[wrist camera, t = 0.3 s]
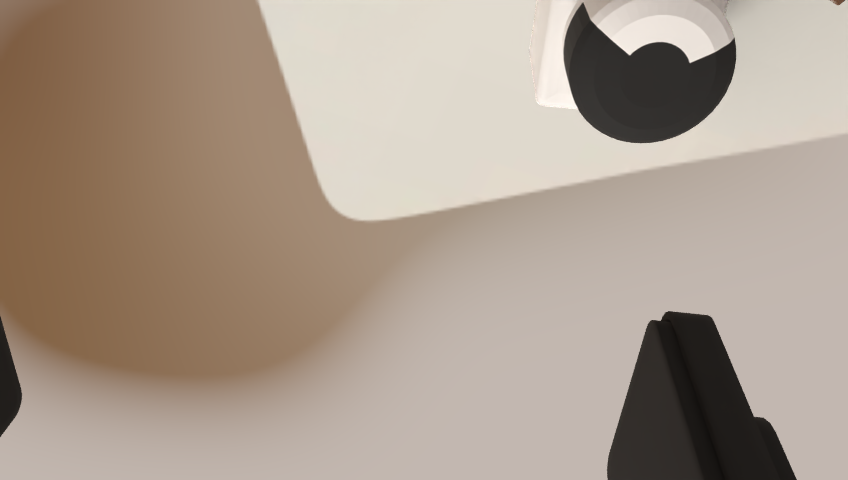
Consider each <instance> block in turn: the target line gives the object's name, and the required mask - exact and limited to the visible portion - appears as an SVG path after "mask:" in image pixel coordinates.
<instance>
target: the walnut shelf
mask: <svg viewBox="0 0 848 480" xmlns="http://www.w3.org/2000/svg"><path fill="white" fill-rule="evenodd" d="M830 1H832V2H833V3H835V4H836V5H840V4H841V3H842V2H844V1H845V0H830Z"/></svg>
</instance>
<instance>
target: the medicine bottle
mask: <svg viewBox="0 0 848 480" xmlns="http://www.w3.org/2000/svg"><path fill="white" fill-rule="evenodd" d="M727 3H728V0H537V2H536V9H535V15H534V22H533V29H532V36H531V43H530V49H529V54H530V61H531V68H532V75H533V81H534V88H535V95H536V101H537V102H538V103H539V104H540V105H542V106H549V107H560V108H571V109H578V110H579V111H580V113H581V114H582V115H583V117H584V118H585V119H586V120H587V121H588V122H589V123H590V124H591V125H592V126H593V127H594V128H596V129H597V130H598V131H600V132H601V133H603V134H605V135H607V136H609V137H611V138H614V139H617V140H620V141H625V142H631V143H652V142H658V141H663V140H667V139H670V138H673V137H676V136H678V135H680V134H682V133H685V132H686V131H688V130H690V129H691V128H693V127H695V126H696V125H697V124H699V123H700V122H701V121H703V120H704V119H705V118H706V117H707V116H708V115H709V114H710V113H711V112H712V111H713V110H714V109H715V108H716V106H717V105H718V104H719V103H720V101H721V100H722V98H723V96H724V95H725V93H726V92H727V89H728V87H729V85H730V83H731V80H732V77H733V73H734V69H735V63H736V45H735V38H734V35H733V32H732V29H731V26H730V24H729V22H728V20H727V18H726V17H725V16H724V13H725V10H726V6H727Z"/></svg>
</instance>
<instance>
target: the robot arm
mask: <svg viewBox="0 0 848 480" xmlns="http://www.w3.org/2000/svg"><path fill="white" fill-rule="evenodd" d="M21 400H22V393H21V387H20V383H19V380H18V377H17V373H16V370H15V366H14V363H13V359H12V356H11V352H10V349H9V345H8V342H7V338H6V335H5V331H4V328H3V324H2V321H1V317H0V437H1V435H2V434H3V432H4V431H5V430H6V429H7V427H8V426H9V425H10V423H11V422H12V421H13V419H14V418H15V416H16V415H17V413H18V411H19V408H20V405H21ZM607 477H608V480H797V479H796V477H795V475H794V473H793V470H792V468H791V466H790V464H789V461H788V459H787V457H786V454H785V452H784V450H783V448H782V445H781V443H780V441H779V439H778V437H777V434H776V432H775V430H774V429H773V427H772V425H771V424H770V423H769V422H768V421H767V420H766V419H764V418H760V417H754V416H753V414H752V411H751V409H750V406H749V404H748V402H747V399H746V397H745V394H744V392H743V390H742V387H741V385H740V383H739V380H738V378H737V375H736V373H735V371H734V368H733V366H732V364H731V361H730V359H729V356H728V354H727V351H726V349H725V347H724V345H723V342H722V340H721V337H720V335H719V332H718V330H717V328H716V325H715V323H714V321H713V319H712V318H711V317H710V316H708V315H700V314H690V313H681V312H671V311H668V312H666V313H665V314H664V316H663V317H662V320H661V321H656V320H651V321H650V322H649V324H648V326H647V328H646V332H645V335H644V339H643V342H642V345H641V348H640V352H639V355H638V359H637V362H636V365H635V369H634V372H633V376H632V379H631V382H630V385H629V389H628V392H627V396H626V399H625V403H624V406H623V409H622V412H621V416H620V419H619V423H618V426H617V429H616V433H615V436H614V439H613V443H612V446H611V449H610V453H609V458H608V466H607Z"/></svg>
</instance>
